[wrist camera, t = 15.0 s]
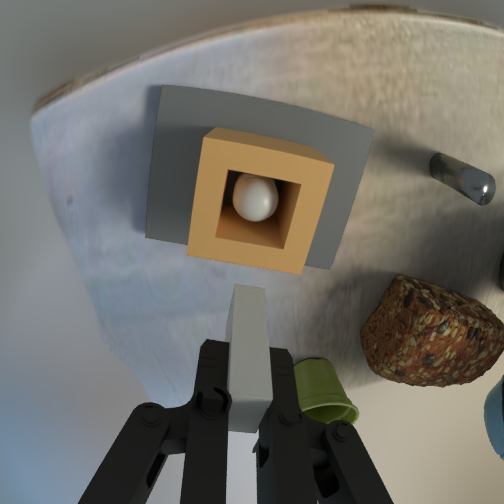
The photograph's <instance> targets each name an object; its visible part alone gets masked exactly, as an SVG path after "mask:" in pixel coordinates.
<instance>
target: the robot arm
mask: <svg viewBox="0 0 504 504" xmlns="http://www.w3.org/2000/svg"><path fill="white" fill-rule="evenodd" d="M500 281H501V285H502V287H503V289H504V255H503V258H502V262H501V268H500ZM484 421H485V426H486V430H487V434H488V437H489V439H490V442H491V444H492V446H493V448H494V450H495V452H496V453H497V454H500V457H501V459H503V460H504V375H503V377H502V379H501V380H500V381H499V382H498V383H497V384H496V386H495V387H494V388H493V389H492V390H491V391H490V392H489V394H488V395H487V397H486V400H485V404H484ZM258 428H259V438H258V440H257V443H256V444H255V446H254V448H253V452H252V453H255V452H256V462H257V463H256V467H257V504H317V501H318V503H319V504H394V503H393V501H392V499H391V498H390V495H389V494H388V491H387V490H386V488H385V486H384V483H383V482H382V479H381V478H380V476H379V474H378V472H377V470H376V468H375V466H374V464H373V462H372V460H371V458H370V456H369V454H368V452H367V450H366V448H365V446H364V444H363V442H362V440H361V438H360V437H359V435H358V433H357V431H356V429H355V428H354V426H353V425H352V424H350V423H349V422H347V421H344V420H334V421H332V422H330V423H329V424H326V423H323V422H319V421H316V420H313V419H311V418H309V417H308V416H306V415H305V413H304V412H303V411H302V410H301V408H300V405H299V401H298V393H297V386H296V379H295V372H294V365H293V358H292V357H291V355H290V353H289V352H288V350H287V349H281V348H272V347H269V338H268V325H267V312H266V299H265V289H263V288H257V287H251V286H245V285H239V284H235V286H234V291H233V296H232V301H231V305H230V310H229V315H228V320H227V325H226V338H225V342H223V341H216V340H210V339H206V341H205V342H204V343H203V344H202V346H201V347H200V354H199V360H198V367H197V373H196V380H195V387H194V393H193V396H192V398H191V400H190V401H189V402H188V403H187V404H185V405H183V406H180V407H175V408H164V407H162V406H161V405H159V404H156V403H152V402H148V403H143V404H140V405H138V406H137V407H136V408H135V409H134V410H133V412H132V413H131V415H130V417H129V418H128V420H127V421H126V423H125V425H124V427H123V428H122V430H121V432H120V433H119V435H118V436H117V438H116V440H115V441H114V443H113V445H112V446H111V448H110V450H109V452H108V453H107V455H106V456H105V458H104V460H103V461H102V463H101V465H100V466H99V468H98V470H97V472H96V473H95V475H94V477H93V478H92V480H91V482H90V483H89V485H88V487H87V489H86V490H85V492H84V494H83V495H82V497H81V499H80V500H79V502H78V504H145V503H146V501H147V499H148V497H149V495H150V493H151V491H152V489H153V487H154V485H155V483H156V481H157V478H158V476H159V474H160V472H161V470H162V468H163V466H164V464H165V462H166V459H167V457H168V455H170V454H180V453H185V461H184V470H183V479H182V488H181V498H180V504H226V479H227V478H226V476H227V447H228V431H235V432H246V433H256V432H257V430H258Z"/></svg>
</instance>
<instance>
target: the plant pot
mask: <svg viewBox="0 0 504 504" xmlns="http://www.w3.org/2000/svg"><path fill="white" fill-rule="evenodd" d="M294 372H295V379H296V386H297V393H298V401H299V405H300V408H301V410H302V411H303V412H304V413H305V415H306V416H308V417H309V418H311V419H313V420H316V421H319V422H323V423H326V424H329V423H330V422H332V421H334V420H344V421H347V422H349V423H350V424H352V425H353V424H354V423H355V422H356V421H357V419H358V417H359V411H358V409H357V407H356V406H354V405H353V404H352V402H351V401H350V399H349V398H347V396H346V393H345V391H344V389H343V387H342V385H341V383H340V381H339V379H338V376H337V374H336V372H335V370H334V368H333V365H332V364H331V363H330V362H329V361H327V360H325V359H319V360H315V359H307V360H304V361H302V362H299V363H298V364H296V365H295V366H294Z"/></svg>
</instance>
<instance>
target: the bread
mask: <svg viewBox="0 0 504 504" xmlns="http://www.w3.org/2000/svg"><path fill="white" fill-rule="evenodd" d="M360 337H361V345H362V350H363V352H364V353H365V355H366V359H367V363H368V365H369V367H370V369H371V370H372V371H373V372H375V373H376V374H378V375H380V376H381V377H384V378H386V379H387V380H391V381H395V382H397V383H405V384H408V385H411V386H414V385H416V386H422V387H425V386H439V387H445V386H450V385H452V384H460V385H462V384H464V383H470V382H472V381H474V380H475V379H477V378H478V377H480V376H483V375H484V373H485V372H486V371H488V370H490V369H491V367H492V366H493V365H494V364H495V362H496V361H497V360H498V358H499V356H500V355H501V354H502V352H503V351H504V324H503V322H502V321H501V320H500V319H498V318H497V317H496V315H495V314H493V312H492V310H490V309H488V308H487V307H486V306H485V305H483V304H482V303H481V302H479V301H477V300H473V299H470V298H467V297H465V296H463V295H461V294H459V293H455V292H453V291H451V290H447V289H445V288H443V287H440V286H437V285H434V284H432V283H430V284H428V283H426V282H425V281H420V280H415V279H413V278H408V277H406V276H397V277H396V278H395V279H394V280H393V281H392V286H390V287H389V288H388V289H387V290H386V291H385V293H384V295H383V297H382V301H381V303H380V305H379V306H378V308H377V310H376V311H375V312H374V313H373V314H372V315H370V317H369V318H368V320H367V322H366V324H365V325H364V326H363V327H362V330H361V331H360Z"/></svg>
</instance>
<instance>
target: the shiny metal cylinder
mask: <svg viewBox="0 0 504 504" xmlns="http://www.w3.org/2000/svg"><path fill="white" fill-rule="evenodd" d="M430 173H431V175H432V176H433V177H434V178H435V179H437V180H439V181H441V182H442V183H444V184H446V185H448V186H449V187H451V188H453V189H454V190H456V191H458V192H459V193H461V194H463V195H464V196H466V197H468V198H469V199H471V200H472V201H474V202H476V203H477V204H479V205H481V206H484V205H487V204H488V203H489V202H490V201H491V200H492V198H493V196H494V194H495V189H496V185H495V180H494V178H493V177H492V176H491V175H490V174H488V173H486V172H484V171H482V170H480V169H477V168H475V167H473V166H471V165H469V164H466V163H464V162H462V161H460V160H457V159H455V158H453V157H450V156H448V155H445V154H443V153H438V154H436V155H435V156H434V157H433V158H432V159H431V162H430Z"/></svg>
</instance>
